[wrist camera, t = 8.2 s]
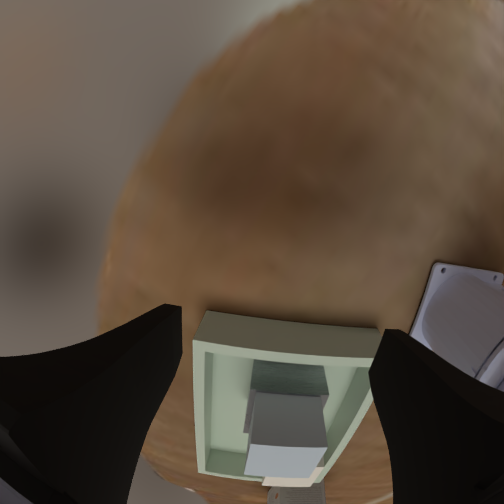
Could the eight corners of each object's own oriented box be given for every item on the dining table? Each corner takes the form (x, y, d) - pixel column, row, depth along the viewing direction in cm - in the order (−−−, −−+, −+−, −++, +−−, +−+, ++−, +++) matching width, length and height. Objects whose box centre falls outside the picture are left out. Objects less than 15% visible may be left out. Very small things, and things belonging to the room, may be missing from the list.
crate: (377, 328, 20) (393, 358, 16) (317, 457, 26) (319, 482, 22) (206, 310, 21) (192, 339, 17) (204, 446, 27) (198, 472, 23)
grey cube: (320, 396, 17) (327, 447, 13) (306, 432, 18) (308, 478, 14) (256, 391, 17) (250, 443, 13) (249, 428, 19) (243, 474, 14)
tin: (322, 360, 21) (329, 395, 17) (307, 404, 22) (310, 437, 19) (254, 354, 21) (250, 388, 17) (247, 399, 23) (242, 432, 19)
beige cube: (320, 428, 23) (324, 466, 19) (308, 451, 25) (310, 486, 20) (271, 425, 24) (269, 465, 19) (264, 449, 25) (261, 485, 20)
